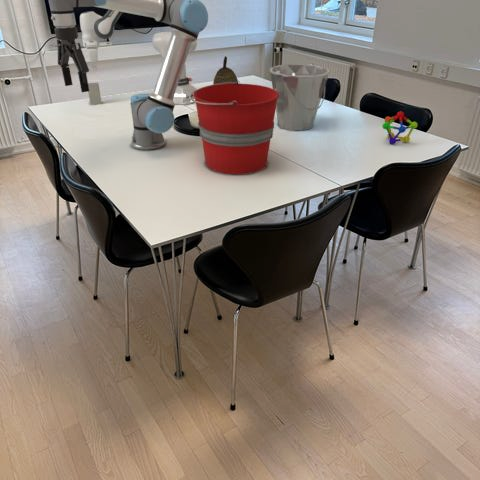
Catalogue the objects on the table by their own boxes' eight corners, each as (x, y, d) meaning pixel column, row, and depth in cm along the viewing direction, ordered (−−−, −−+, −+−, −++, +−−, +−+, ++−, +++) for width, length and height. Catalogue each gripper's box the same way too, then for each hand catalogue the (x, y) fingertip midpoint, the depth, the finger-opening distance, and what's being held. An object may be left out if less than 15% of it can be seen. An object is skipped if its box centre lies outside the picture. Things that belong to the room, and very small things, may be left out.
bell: (227, 105, 294) (202, 96, 282) (238, 66, 289) (213, 55, 277) (243, 108, 280) (217, 98, 268) (255, 66, 275) (229, 55, 263)
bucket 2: (296, 138, 215) (301, 78, 201) (255, 124, 234) (256, 68, 219) (335, 125, 232) (342, 70, 217) (294, 113, 251) (297, 61, 236)
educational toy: (377, 146, 209) (379, 114, 202) (384, 138, 219) (386, 107, 211) (411, 149, 202) (415, 116, 195) (417, 141, 212) (420, 109, 204)
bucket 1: (198, 147, 204) (194, 79, 188) (274, 148, 203) (277, 80, 187) (188, 177, 175) (183, 101, 159) (277, 179, 174) (281, 102, 158)
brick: (90, 102, 269) (86, 83, 263) (100, 101, 271) (97, 82, 265) (90, 104, 265) (87, 85, 259) (101, 103, 268) (98, 84, 261)
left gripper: (40, 24, 162) (53, 84, 173) (71, 30, 146) (83, 96, 158) (59, 22, 166) (71, 81, 177) (91, 28, 151) (102, 92, 162)
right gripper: (84, 41, 259) (88, 67, 265) (86, 44, 242) (89, 71, 248) (95, 41, 260) (99, 66, 267) (97, 44, 243) (101, 71, 250)
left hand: (77, 88), depth 168 cm, fingers open, 13 cm apart
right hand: (94, 69), depth 257 cm, fingers open, 8 cm apart
